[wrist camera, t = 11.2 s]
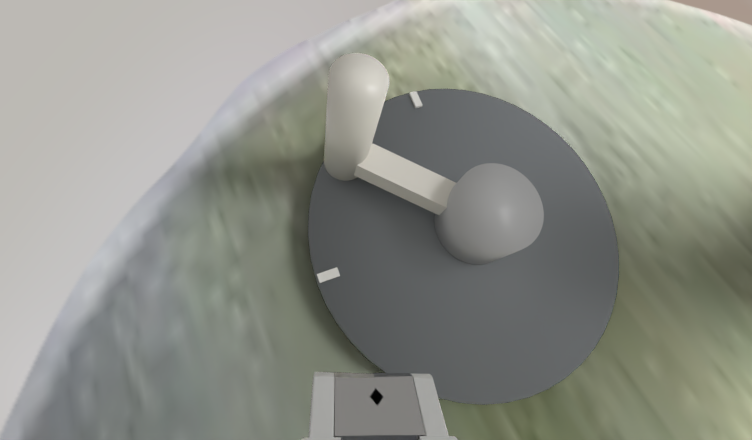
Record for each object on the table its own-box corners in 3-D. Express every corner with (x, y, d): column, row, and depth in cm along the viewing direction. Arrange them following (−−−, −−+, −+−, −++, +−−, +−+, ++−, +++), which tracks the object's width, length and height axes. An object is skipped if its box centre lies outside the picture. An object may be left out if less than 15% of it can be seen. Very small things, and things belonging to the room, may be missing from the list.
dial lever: (520, 207, 28) (616, 147, 19) (499, 278, 26) (594, 248, 17) (343, 123, 27) (356, 23, 19) (307, 188, 25) (303, 110, 16)
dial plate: (521, 76, 34) (531, 63, 32) (657, 323, 28) (678, 323, 27) (268, 136, 28) (265, 123, 26) (377, 466, 22) (382, 476, 21)
